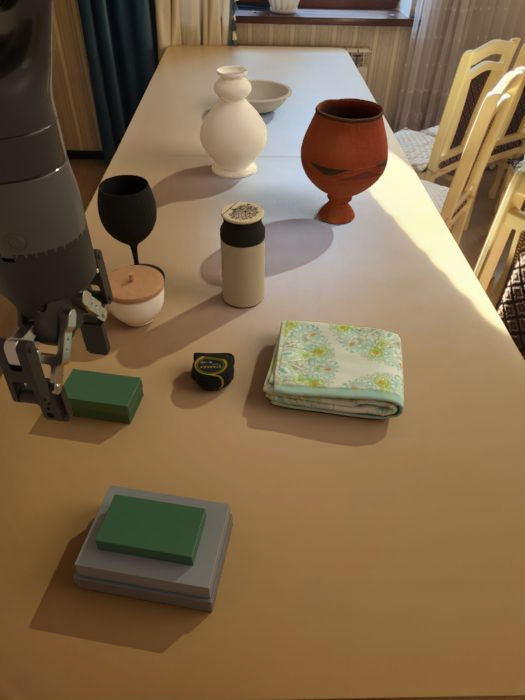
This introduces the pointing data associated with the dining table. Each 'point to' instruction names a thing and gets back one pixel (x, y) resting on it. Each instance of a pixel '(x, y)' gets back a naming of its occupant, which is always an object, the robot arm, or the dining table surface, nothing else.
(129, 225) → the wine glass
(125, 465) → the dining table surface
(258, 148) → the decorative vase
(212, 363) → the tape measure
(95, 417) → the green books
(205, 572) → the grey books
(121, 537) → the green book
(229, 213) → the travel mug
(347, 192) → the goblet
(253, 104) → the soup bowl
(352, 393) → the towel
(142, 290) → the trinket box
